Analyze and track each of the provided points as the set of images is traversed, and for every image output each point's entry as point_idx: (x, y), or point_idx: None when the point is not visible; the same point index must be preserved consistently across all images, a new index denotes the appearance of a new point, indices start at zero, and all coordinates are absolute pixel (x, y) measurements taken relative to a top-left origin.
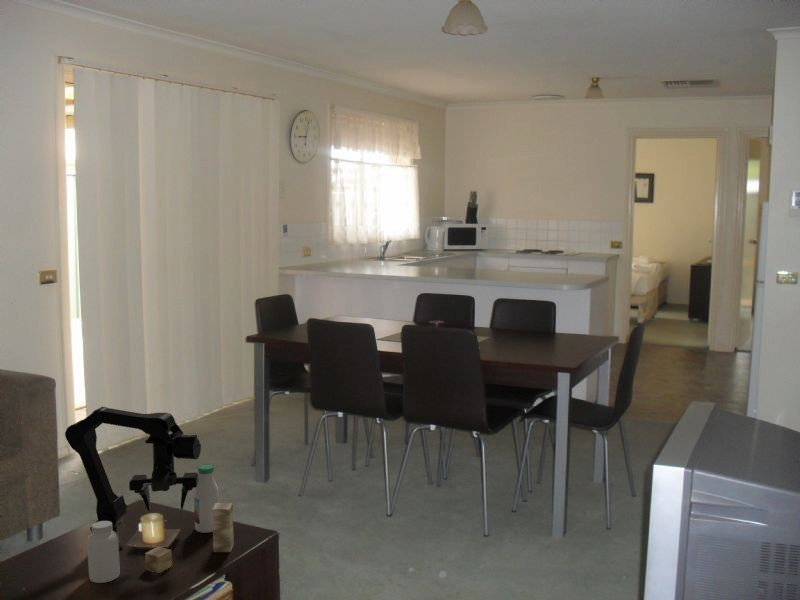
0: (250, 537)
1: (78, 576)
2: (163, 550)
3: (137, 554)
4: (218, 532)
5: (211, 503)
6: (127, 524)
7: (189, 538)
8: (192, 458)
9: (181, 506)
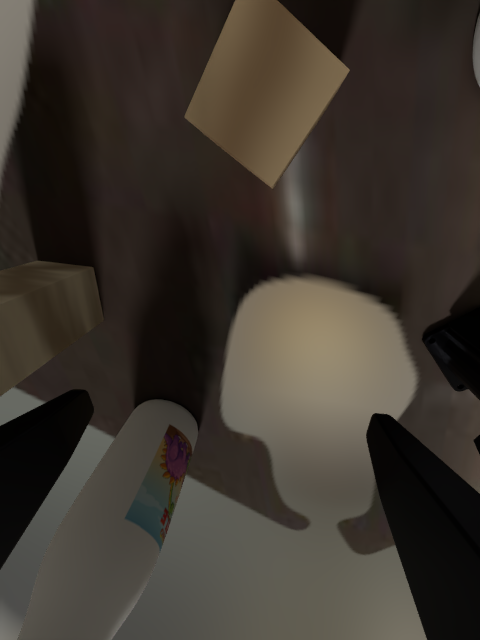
0: None
1: None
2: (233, 115)
3: (365, 286)
4: (6, 289)
5: (88, 490)
6: None
7: (201, 376)
8: None
9: (51, 407)
